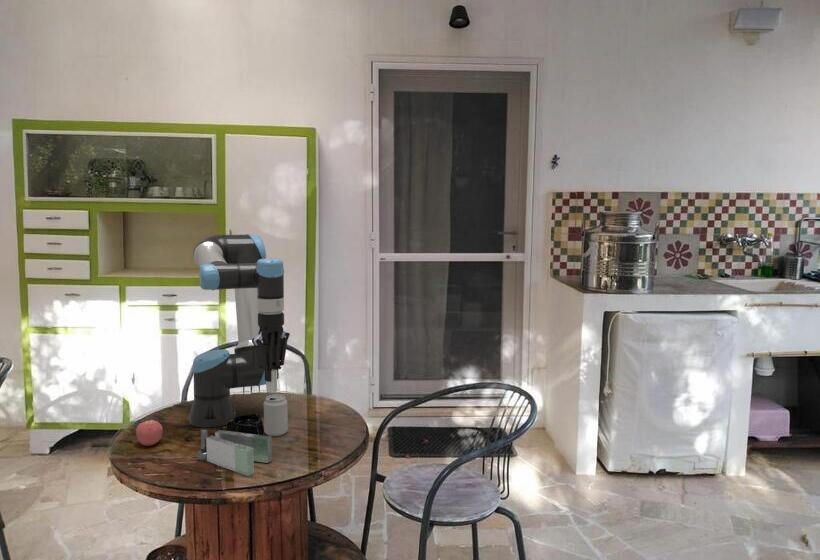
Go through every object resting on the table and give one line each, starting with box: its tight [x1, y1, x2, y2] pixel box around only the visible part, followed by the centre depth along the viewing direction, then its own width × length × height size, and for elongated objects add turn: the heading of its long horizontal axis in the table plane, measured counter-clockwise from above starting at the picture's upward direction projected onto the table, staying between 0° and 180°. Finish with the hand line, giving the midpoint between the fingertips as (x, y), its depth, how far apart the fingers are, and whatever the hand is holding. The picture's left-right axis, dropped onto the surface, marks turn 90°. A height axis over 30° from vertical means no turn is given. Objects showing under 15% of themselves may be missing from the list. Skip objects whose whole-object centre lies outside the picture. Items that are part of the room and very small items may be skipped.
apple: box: [135, 418, 164, 447], centre depth 187 cm, size 7×7×8 cm
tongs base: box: [196, 428, 255, 477], centre depth 172 cm, size 21×4×8 cm, turn 56°
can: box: [263, 394, 289, 437], centre depth 197 cm, size 8×8×12 cm
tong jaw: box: [214, 429, 273, 464], centre depth 177 cm, size 17×2×7 cm, turn 74°
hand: (271, 391), depth 181 cm, fingers closed
